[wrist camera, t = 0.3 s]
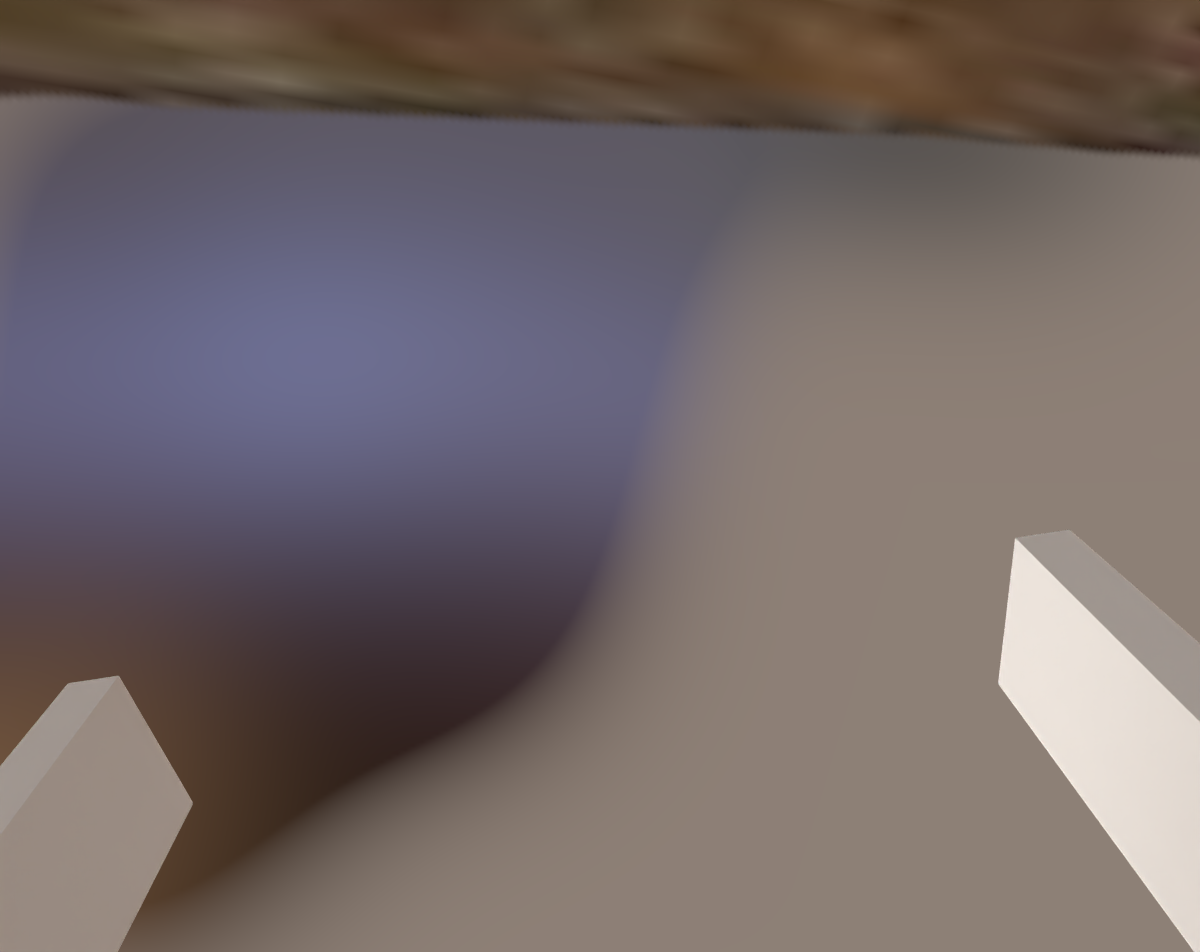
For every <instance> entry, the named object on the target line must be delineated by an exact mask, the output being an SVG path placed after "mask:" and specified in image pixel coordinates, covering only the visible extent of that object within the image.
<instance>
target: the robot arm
mask: <svg viewBox="0 0 1200 952" xmlns="http://www.w3.org/2000/svg"><path fill="white" fill-rule="evenodd" d="M998 684H999V685H1000V687H1001V688H1002V689H1003V691H1004V692H1005V694H1006V695H1007V696H1008V698H1009V699H1010V700H1011V702H1012V703H1013V705H1014V706H1015V707H1016V709H1017V710H1018V711H1019V713H1020V714H1021V716H1022V717H1023V718H1024V720H1025V721H1026V722H1027V724H1028V725H1029V726H1030V728H1031V729H1032V731H1033V732H1034V733H1035V735H1036V736H1037V737H1038V739H1039V740H1040V742H1041V743H1042V744H1043V746H1044V747H1045V748H1046V750H1047V751H1048V752H1049V754H1050V755H1051V757H1052V758H1053V759H1054V761H1055V762H1056V763H1057V765H1058V766H1059V767H1060V769H1061V770H1062V772H1063V773H1064V774H1065V776H1066V777H1067V778H1068V780H1069V781H1070V783H1071V784H1072V785H1073V787H1074V788H1075V789H1076V791H1077V792H1078V794H1079V795H1080V796H1081V797H1082V799H1083V800H1084V802H1085V803H1086V804H1087V806H1088V807H1089V809H1090V810H1091V811H1092V813H1093V814H1094V815H1095V817H1096V818H1097V819H1098V821H1099V822H1100V824H1101V825H1102V826H1103V828H1104V829H1105V830H1106V832H1107V833H1108V835H1109V836H1110V837H1111V839H1112V840H1113V841H1114V843H1115V844H1116V846H1117V847H1118V848H1119V850H1120V851H1121V852H1122V854H1123V855H1124V856H1125V858H1126V859H1127V860H1128V862H1129V863H1130V865H1131V866H1132V867H1133V869H1134V870H1135V872H1136V873H1137V874H1138V876H1139V877H1140V878H1141V880H1142V881H1143V882H1144V884H1145V885H1146V887H1147V888H1148V889H1149V891H1150V892H1151V893H1152V895H1153V896H1154V898H1155V899H1156V900H1157V902H1158V903H1159V904H1160V906H1161V907H1162V908H1163V910H1164V911H1165V913H1166V914H1167V915H1168V917H1169V918H1170V919H1171V921H1172V922H1173V923H1174V925H1175V926H1176V928H1177V929H1178V930H1179V932H1180V933H1181V934H1182V936H1183V937H1184V939H1185V940H1186V941H1187V943H1188V944H1189V945H1190V947H1191V948H1192V949H1193V951H1194V952H1200V643H1199V642H1197V641H1196V640H1195V639H1194V638H1193V637H1192V636H1191V635H1189V634H1188V633H1187V632H1186V631H1185V630H1184V629H1182V628H1181V627H1180V626H1179V625H1178V624H1177V623H1176V622H1175V621H1173V620H1172V619H1171V618H1170V617H1169V616H1168V615H1166V614H1165V613H1164V612H1163V611H1162V610H1161V609H1160V608H1159V607H1157V606H1156V605H1155V604H1154V603H1153V602H1152V601H1151V600H1149V599H1148V598H1147V597H1146V596H1145V595H1144V594H1142V593H1141V592H1140V591H1139V590H1138V589H1137V588H1136V587H1134V586H1133V585H1132V584H1131V583H1130V582H1129V581H1128V580H1127V579H1125V578H1124V577H1123V576H1122V575H1121V574H1120V573H1119V572H1117V571H1116V570H1115V569H1114V568H1113V567H1112V566H1111V565H1109V564H1108V563H1107V562H1106V561H1105V560H1103V558H1101V557H1100V556H1099V555H1098V554H1097V553H1096V552H1095V551H1093V550H1092V549H1091V548H1090V547H1089V546H1088V545H1087V544H1085V543H1084V542H1083V541H1082V540H1081V539H1080V538H1078V537H1077V536H1076V535H1075V534H1074V533H1073V532H1072V531H1071V530H1064V531H1057V532H1051V533H1044V534H1038V535H1031V536H1025V537H1019V538H1015V545H1014V553H1013V563H1012V571H1011V579H1010V588H1009V596H1008V606H1007V613H1006V622H1005V630H1004V639H1003V648H1002V656H1001V664H1000V673H999V682H998ZM192 804H193V802H192V800H191V799H190V797H189V795H188V794H187V792H186V790H185V789H184V787H183V785H182V783H181V782H180V780H179V778H178V777H177V775H176V773H175V771H174V770H173V768H172V766H171V764H170V763H169V761H168V759H167V758H166V756H165V754H164V753H163V751H162V749H161V747H160V746H159V744H158V742H157V741H156V739H155V737H154V735H153V734H152V732H151V730H150V729H149V727H148V725H147V724H146V722H145V720H144V718H143V717H142V715H141V713H140V711H139V710H138V708H137V706H136V705H135V703H134V701H133V699H132V698H131V696H130V694H129V693H128V691H127V689H126V688H125V686H124V684H123V682H122V681H121V679H120V677H119V676H114V677H107V678H101V679H94V680H88V681H81V682H75V683H69V684H67V685H66V687H65V688H64V689H63V690H62V692H61V693H60V694H59V695H58V697H57V698H56V699H55V700H54V701H53V703H52V704H51V705H50V706H49V707H48V709H47V710H46V711H45V712H44V714H43V715H42V716H41V717H40V718H39V720H38V721H37V722H36V723H35V725H34V726H33V727H32V728H31V730H30V731H29V732H28V733H27V735H26V736H25V737H24V738H23V739H22V741H21V742H20V743H19V744H18V745H17V747H16V748H15V749H14V750H13V751H12V753H11V754H10V755H9V756H8V758H7V759H6V760H5V761H4V762H3V764H2V765H1V766H0V952H118V950H119V948H120V946H121V944H122V942H123V940H124V938H125V936H126V934H127V932H128V930H129V928H130V926H131V924H132V922H133V920H134V918H135V916H136V914H137V912H138V910H139V909H140V907H141V905H142V903H143V901H144V899H145V897H146V895H147V893H148V891H149V889H150V887H151V885H152V883H153V881H154V879H155V877H156V875H157V873H158V871H159V869H160V867H161V865H162V863H163V861H164V859H165V857H166V856H167V854H168V852H169V850H170V848H171V846H172V844H173V842H174V840H175V838H176V836H177V834H178V832H179V830H180V828H181V826H182V824H183V822H184V820H185V818H186V816H187V814H188V812H189V810H190V808H191V806H192Z"/></svg>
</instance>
